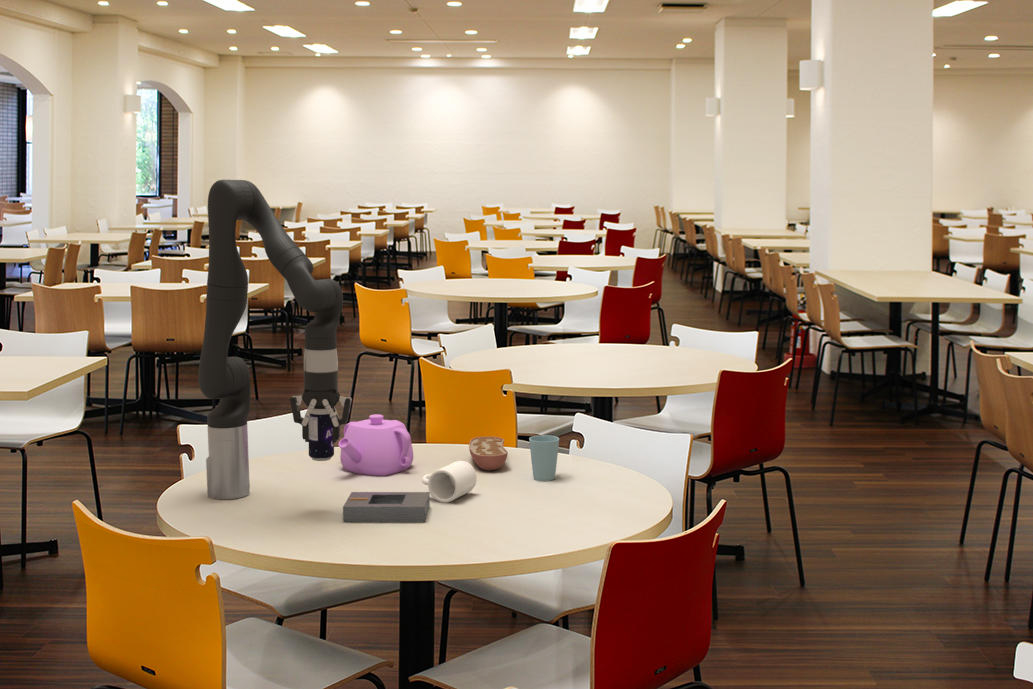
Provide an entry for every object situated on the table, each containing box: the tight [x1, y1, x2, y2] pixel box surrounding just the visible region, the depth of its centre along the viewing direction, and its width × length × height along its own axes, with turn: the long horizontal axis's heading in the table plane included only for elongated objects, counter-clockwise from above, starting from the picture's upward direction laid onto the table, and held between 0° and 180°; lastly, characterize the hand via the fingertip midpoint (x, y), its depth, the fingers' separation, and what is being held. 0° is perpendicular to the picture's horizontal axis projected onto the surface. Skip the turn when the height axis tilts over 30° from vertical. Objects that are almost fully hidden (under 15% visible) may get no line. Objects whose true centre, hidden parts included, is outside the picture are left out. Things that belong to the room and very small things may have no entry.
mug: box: [421, 460, 478, 504], centre depth 256 cm, size 12×10×8 cm
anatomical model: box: [468, 436, 509, 472], centre depth 288 cm, size 23×10×5 cm, turn 5°
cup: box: [528, 434, 560, 482], centre depth 272 cm, size 8×8×10 cm
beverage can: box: [308, 408, 335, 462], centre depth 242 cm, size 6×6×12 cm
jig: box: [342, 491, 431, 523], centre depth 241 cm, size 18×12×4 cm, turn 90°
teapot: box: [337, 413, 414, 477], centre depth 281 cm, size 19×21×14 cm
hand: (321, 441), depth 242 cm, fingers closed on beverage can, 5 cm apart
